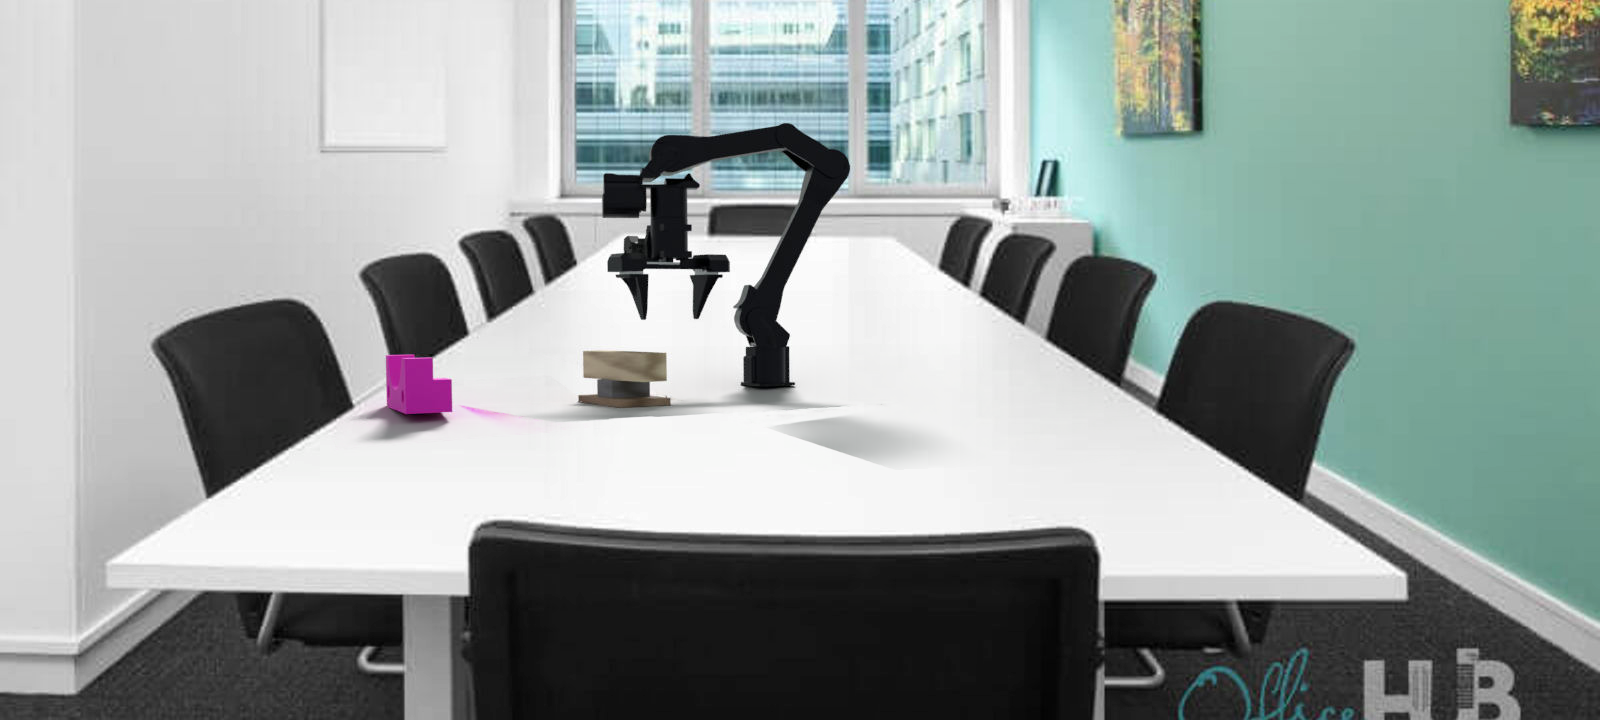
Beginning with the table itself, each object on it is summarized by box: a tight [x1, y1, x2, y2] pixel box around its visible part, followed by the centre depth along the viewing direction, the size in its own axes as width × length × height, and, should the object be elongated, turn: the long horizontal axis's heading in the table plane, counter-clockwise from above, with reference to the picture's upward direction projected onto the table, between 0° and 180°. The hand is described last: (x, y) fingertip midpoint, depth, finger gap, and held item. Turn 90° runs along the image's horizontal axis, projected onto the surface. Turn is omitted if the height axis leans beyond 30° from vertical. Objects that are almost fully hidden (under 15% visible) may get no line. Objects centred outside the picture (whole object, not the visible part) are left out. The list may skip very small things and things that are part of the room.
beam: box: [582, 349, 668, 383], centre depth 196 cm, size 4×16×4 cm, turn 40°
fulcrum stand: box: [578, 379, 672, 409], centre depth 196 cm, size 8×14×4 cm, turn 33°
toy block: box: [385, 354, 453, 415], centre depth 190 cm, size 15×6×8 cm, turn 27°
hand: (670, 319), depth 209 cm, fingers open, 9 cm apart
